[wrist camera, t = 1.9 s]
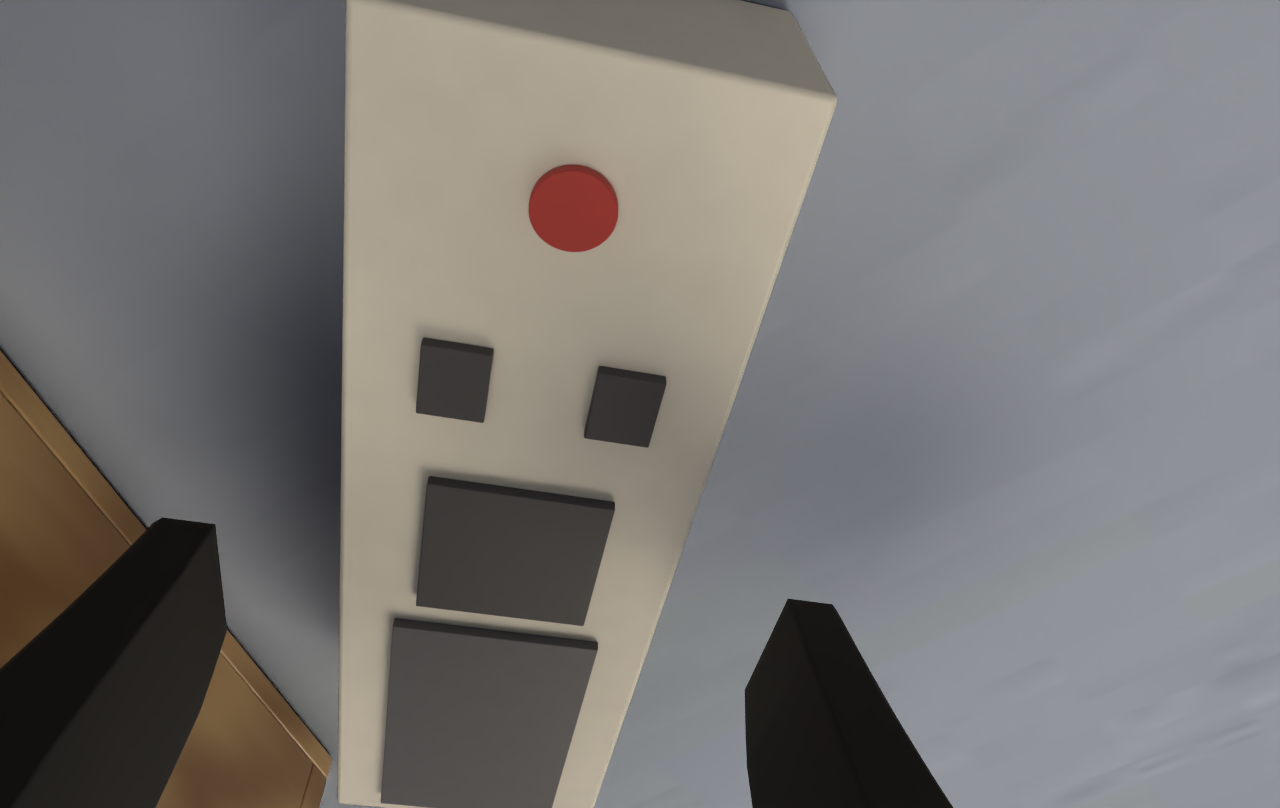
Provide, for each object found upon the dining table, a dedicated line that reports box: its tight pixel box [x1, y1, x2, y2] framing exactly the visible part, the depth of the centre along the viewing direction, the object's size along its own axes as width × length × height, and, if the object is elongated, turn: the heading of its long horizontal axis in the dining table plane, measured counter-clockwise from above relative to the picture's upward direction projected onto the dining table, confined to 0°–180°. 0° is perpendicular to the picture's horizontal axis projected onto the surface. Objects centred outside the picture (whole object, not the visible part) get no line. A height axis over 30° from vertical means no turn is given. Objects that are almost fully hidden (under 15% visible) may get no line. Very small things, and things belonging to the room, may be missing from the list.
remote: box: [337, 0, 837, 808], centre depth 14 cm, size 14×5×3 cm, turn 168°
